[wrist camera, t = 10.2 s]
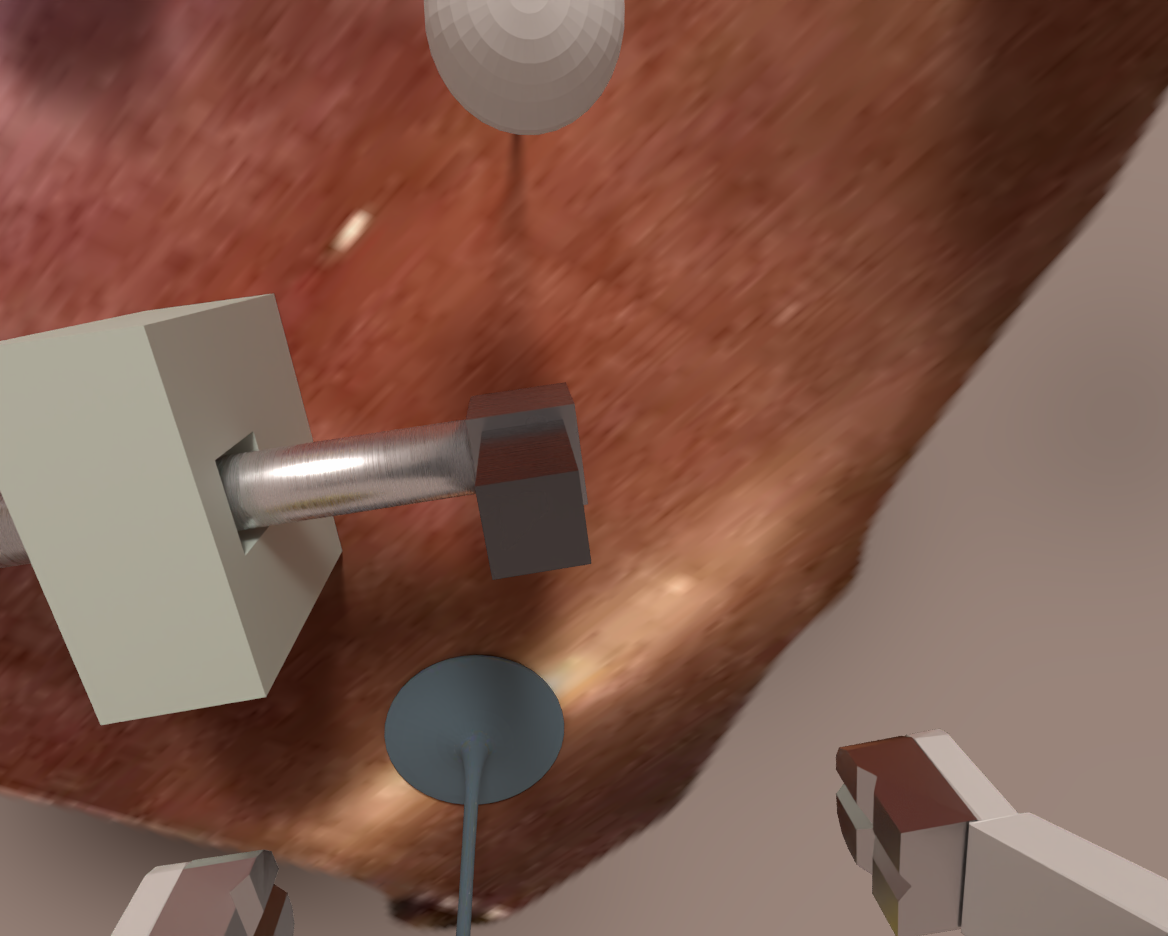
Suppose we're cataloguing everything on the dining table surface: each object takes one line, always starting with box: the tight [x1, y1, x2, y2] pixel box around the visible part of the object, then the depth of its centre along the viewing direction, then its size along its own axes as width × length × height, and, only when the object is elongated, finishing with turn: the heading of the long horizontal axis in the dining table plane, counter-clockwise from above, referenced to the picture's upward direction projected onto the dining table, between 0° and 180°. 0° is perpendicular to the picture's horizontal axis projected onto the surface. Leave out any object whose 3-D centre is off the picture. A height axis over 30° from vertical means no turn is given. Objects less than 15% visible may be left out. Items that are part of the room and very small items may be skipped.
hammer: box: [0, 382, 591, 580], centre depth 25 cm, size 25×4×10 cm, turn 98°
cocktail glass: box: [385, 655, 564, 936], centre depth 31 cm, size 18×18×25 cm
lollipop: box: [424, 0, 624, 135], centre depth 25 cm, size 6×6×15 cm
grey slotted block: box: [0, 293, 342, 725], centre depth 30 cm, size 6×14×13 cm, turn 8°
